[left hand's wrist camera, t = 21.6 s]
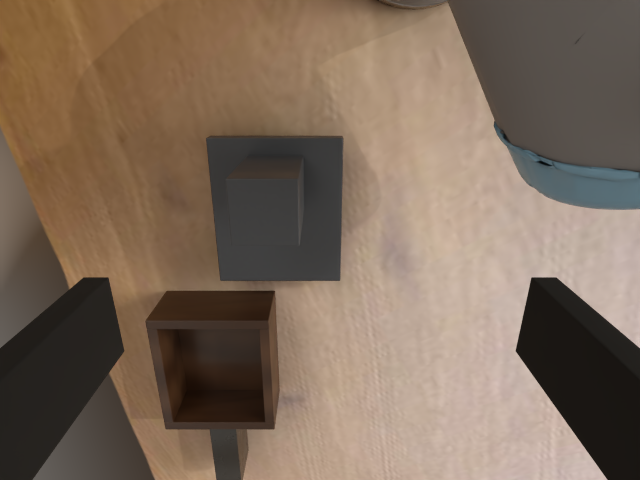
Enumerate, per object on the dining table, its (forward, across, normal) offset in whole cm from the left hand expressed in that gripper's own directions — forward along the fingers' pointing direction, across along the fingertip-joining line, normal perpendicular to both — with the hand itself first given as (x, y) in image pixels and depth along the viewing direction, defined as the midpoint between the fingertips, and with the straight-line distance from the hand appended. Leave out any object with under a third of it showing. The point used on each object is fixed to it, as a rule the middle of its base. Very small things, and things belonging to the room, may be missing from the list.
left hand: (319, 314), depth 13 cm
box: (+29, -11, -27) cm, 41 cm away
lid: (+29, -4, -5) cm, 29 cm away
